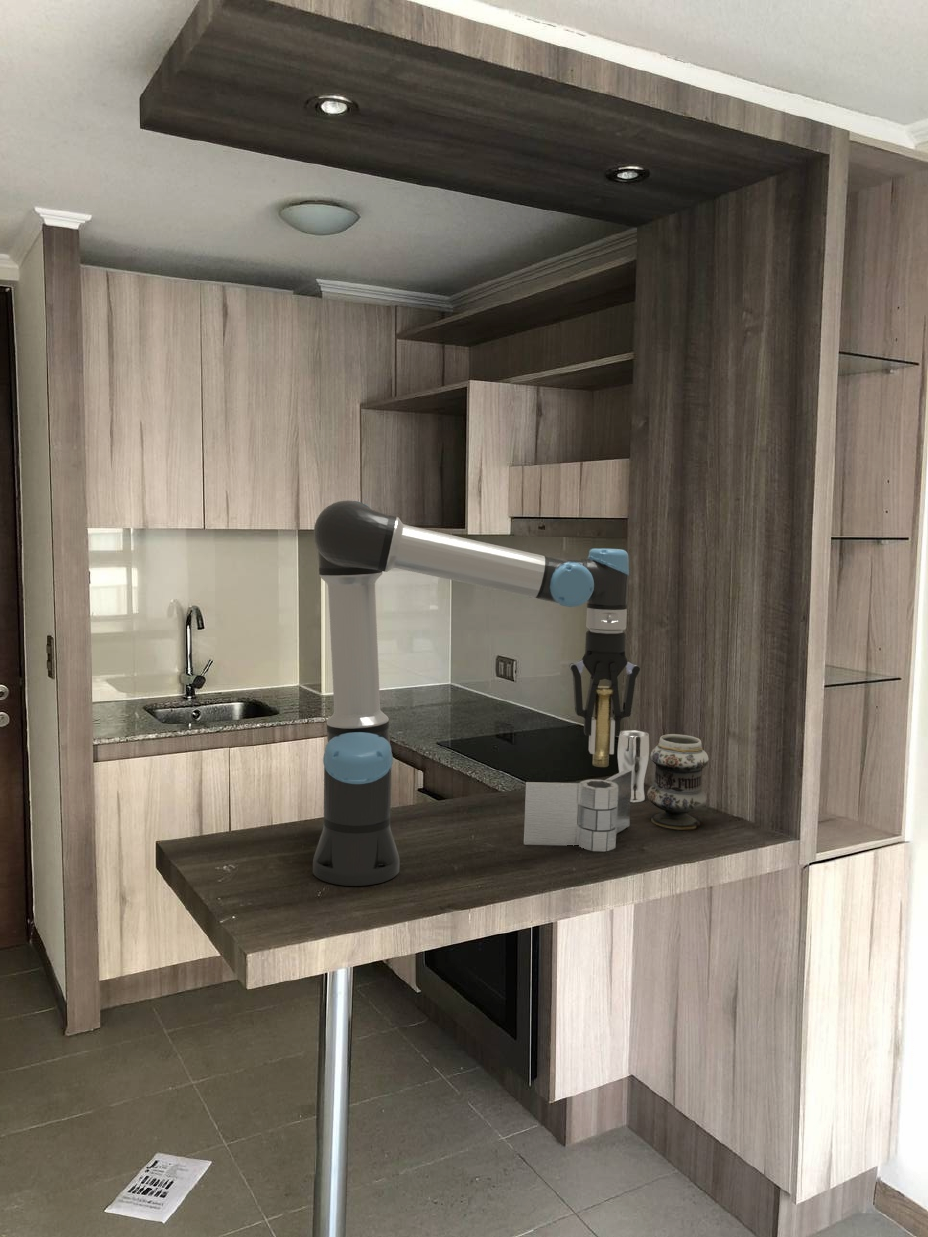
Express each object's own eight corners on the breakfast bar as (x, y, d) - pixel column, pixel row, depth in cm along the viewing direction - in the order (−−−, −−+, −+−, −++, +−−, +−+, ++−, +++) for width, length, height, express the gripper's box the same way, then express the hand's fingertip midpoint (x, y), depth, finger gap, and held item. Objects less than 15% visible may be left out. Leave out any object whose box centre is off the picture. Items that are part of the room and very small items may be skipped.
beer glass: (642, 804, 217) (645, 738, 216) (611, 800, 220) (614, 734, 219) (650, 796, 224) (653, 732, 222) (620, 792, 227) (623, 728, 225)
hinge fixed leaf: (525, 849, 186) (527, 788, 185) (522, 837, 193) (524, 778, 192) (617, 851, 186) (620, 790, 185) (611, 839, 193) (613, 779, 192)
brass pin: (591, 767, 186) (594, 689, 184) (588, 762, 190) (591, 685, 188) (612, 767, 186) (616, 689, 185) (609, 762, 190) (612, 686, 189)
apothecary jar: (697, 835, 197) (702, 748, 195) (639, 826, 202) (643, 740, 200) (710, 819, 208) (715, 736, 206) (654, 810, 213) (658, 729, 211)
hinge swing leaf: (605, 852, 185) (607, 791, 184) (571, 844, 189) (574, 785, 188) (642, 829, 199) (645, 772, 198) (610, 822, 203) (613, 766, 202)
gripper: (566, 632, 181) (561, 756, 184) (652, 634, 182) (646, 758, 184) (561, 627, 189) (556, 746, 191) (644, 629, 189) (638, 748, 192)
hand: (601, 752), depth 188 cm, fingers closed on brass pin, 3 cm apart
